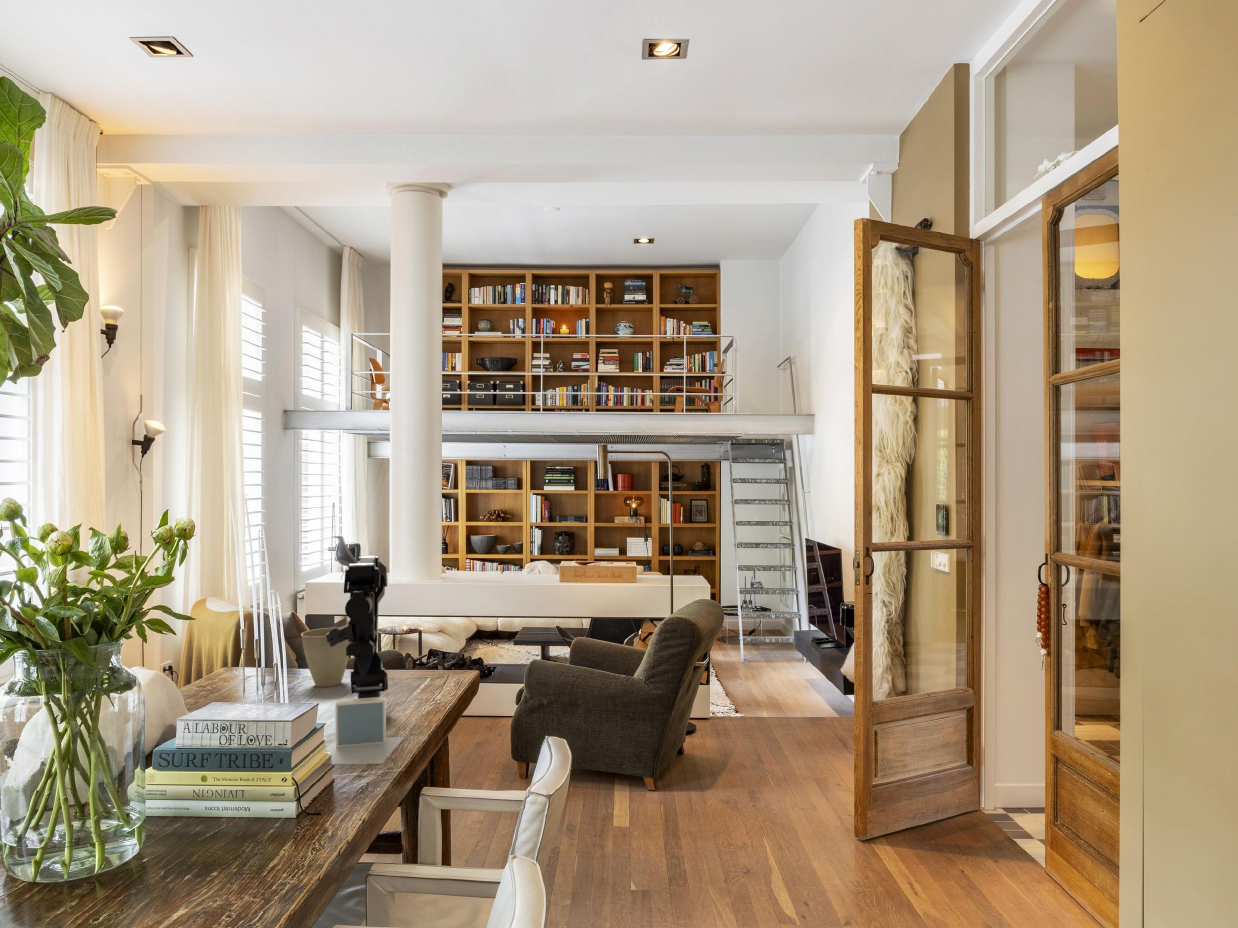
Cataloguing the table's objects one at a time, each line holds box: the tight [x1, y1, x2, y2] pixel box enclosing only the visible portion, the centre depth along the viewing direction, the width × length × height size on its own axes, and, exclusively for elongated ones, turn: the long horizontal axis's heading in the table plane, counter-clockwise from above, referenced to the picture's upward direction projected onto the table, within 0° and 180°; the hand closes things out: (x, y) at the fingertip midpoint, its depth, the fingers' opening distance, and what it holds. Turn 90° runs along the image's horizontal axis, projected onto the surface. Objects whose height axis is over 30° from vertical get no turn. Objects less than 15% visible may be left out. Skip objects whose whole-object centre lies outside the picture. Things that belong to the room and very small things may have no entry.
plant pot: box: [300, 627, 350, 688], centre depth 251 cm, size 15×15×16 cm
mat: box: [326, 736, 405, 765], centre depth 187 cm, size 18×16×1 cm
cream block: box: [334, 696, 387, 747], centre depth 192 cm, size 4×11×10 cm, turn 103°
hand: (363, 677), depth 203 cm, fingers closed
